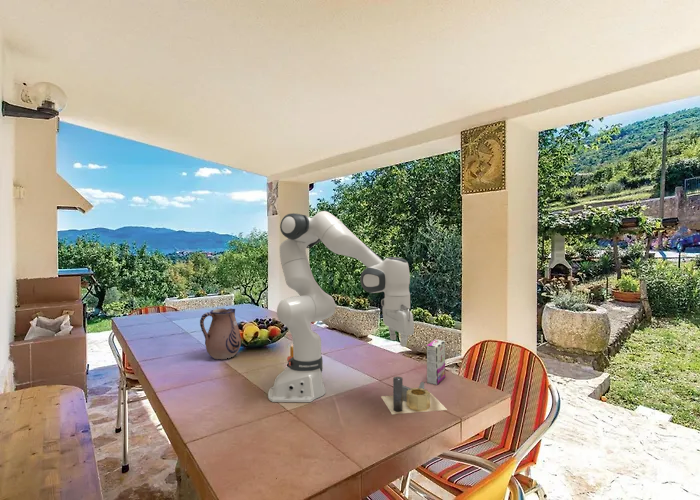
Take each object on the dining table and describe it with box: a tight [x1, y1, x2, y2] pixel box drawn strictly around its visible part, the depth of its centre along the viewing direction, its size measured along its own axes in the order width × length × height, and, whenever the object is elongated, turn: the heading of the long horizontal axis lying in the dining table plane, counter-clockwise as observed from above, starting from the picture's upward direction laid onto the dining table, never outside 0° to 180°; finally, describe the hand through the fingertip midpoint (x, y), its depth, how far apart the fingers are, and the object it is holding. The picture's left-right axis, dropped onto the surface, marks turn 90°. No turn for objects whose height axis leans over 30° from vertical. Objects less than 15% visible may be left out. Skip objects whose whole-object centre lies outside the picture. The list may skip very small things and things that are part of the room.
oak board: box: [380, 392, 448, 415], centre depth 133 cm, size 20×15×2 cm
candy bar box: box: [426, 339, 446, 386], centre depth 160 cm, size 11×5×16 cm, turn 148°
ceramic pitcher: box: [199, 307, 242, 360], centre depth 191 cm, size 18×21×25 cm
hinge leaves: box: [403, 381, 431, 411], centre depth 133 cm, size 11×13×5 cm
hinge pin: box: [392, 376, 404, 412], centre depth 128 cm, size 3×3×11 cm
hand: (398, 342), depth 128 cm, fingers open, 8 cm apart
